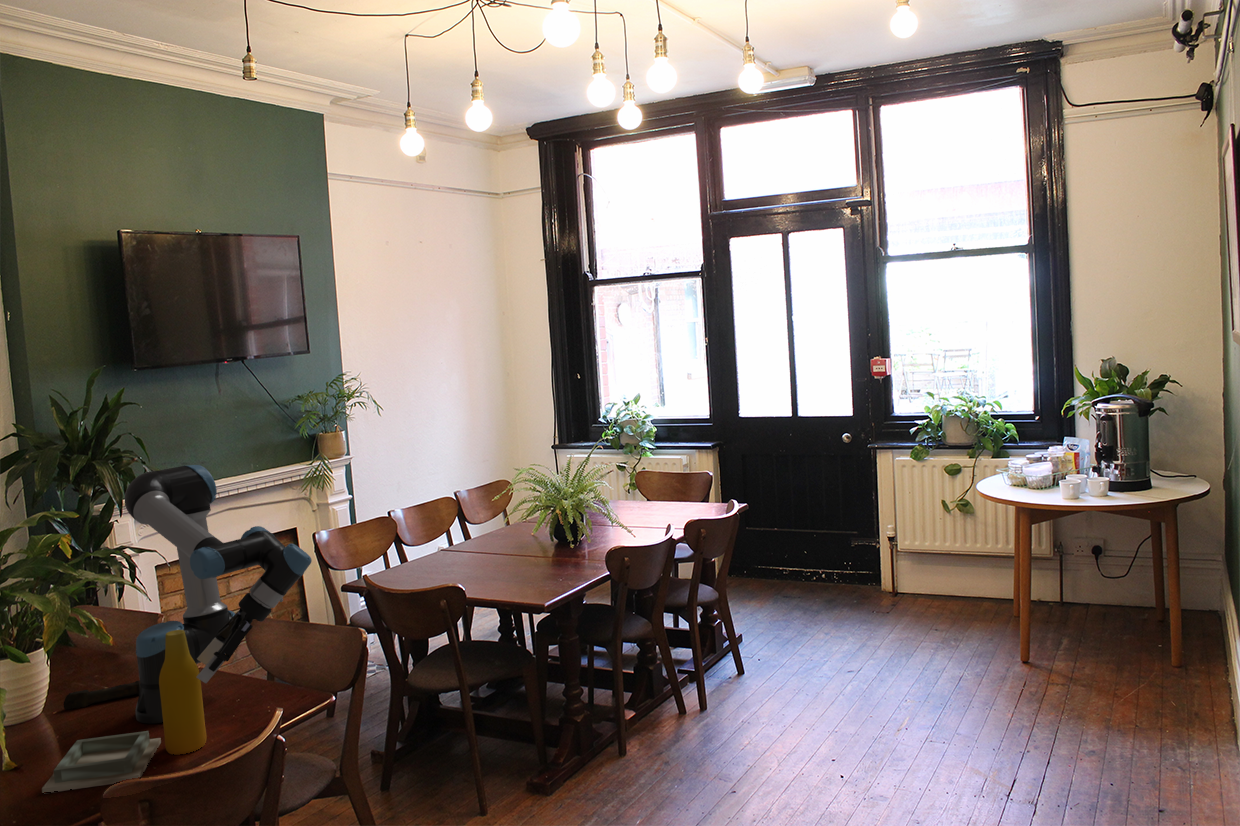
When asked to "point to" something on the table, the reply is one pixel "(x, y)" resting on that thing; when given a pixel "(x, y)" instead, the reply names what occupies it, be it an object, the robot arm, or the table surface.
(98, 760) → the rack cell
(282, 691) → the table surface
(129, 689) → the hand tool
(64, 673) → the table surface
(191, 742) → the beer bottle
